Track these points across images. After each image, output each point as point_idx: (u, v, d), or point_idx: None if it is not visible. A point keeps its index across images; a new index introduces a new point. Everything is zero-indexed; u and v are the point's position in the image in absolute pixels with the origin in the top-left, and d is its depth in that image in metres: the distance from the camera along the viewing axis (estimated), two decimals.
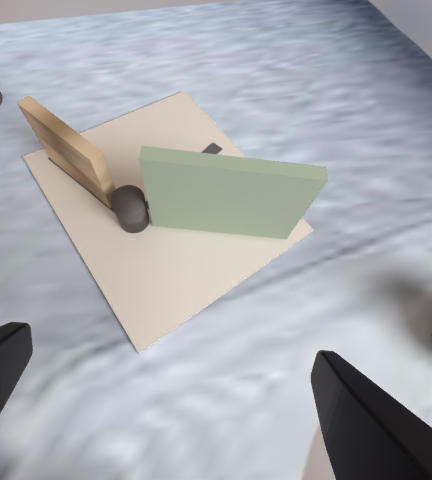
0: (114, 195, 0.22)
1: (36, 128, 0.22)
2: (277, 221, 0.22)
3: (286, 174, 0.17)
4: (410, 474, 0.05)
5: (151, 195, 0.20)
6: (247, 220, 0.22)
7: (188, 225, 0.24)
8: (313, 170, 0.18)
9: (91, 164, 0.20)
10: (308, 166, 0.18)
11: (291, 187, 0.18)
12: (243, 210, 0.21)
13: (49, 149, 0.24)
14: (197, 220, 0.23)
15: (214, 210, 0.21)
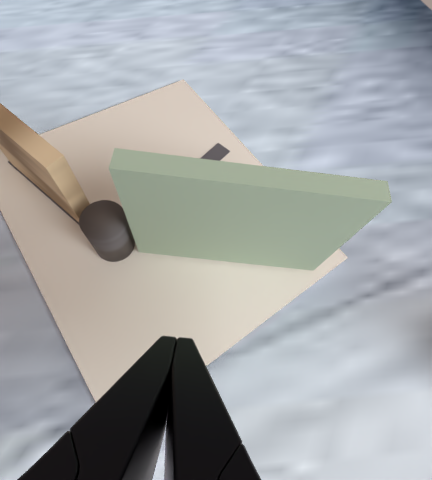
0: (84, 214, 0.16)
1: None
2: (305, 251, 0.16)
3: (330, 192, 0.12)
4: (171, 457, 0.05)
5: (133, 217, 0.14)
6: (264, 249, 0.17)
7: (184, 252, 0.18)
8: (369, 186, 0.12)
9: (48, 173, 0.14)
10: (362, 180, 0.12)
11: (334, 210, 0.13)
12: (260, 238, 0.15)
13: (4, 150, 0.18)
14: (197, 247, 0.17)
15: (220, 236, 0.16)
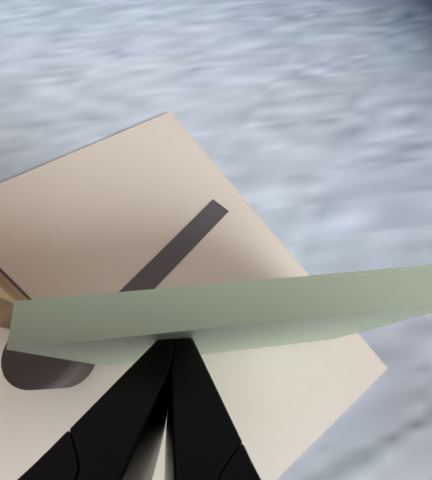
0: None
1: None
2: (330, 334, 0.12)
3: (387, 305, 0.07)
4: (171, 457, 0.05)
5: (80, 358, 0.09)
6: (276, 341, 0.12)
7: None
8: None
9: None
10: (426, 270, 0.08)
11: (386, 315, 0.08)
12: (270, 339, 0.11)
13: None
14: None
15: (215, 346, 0.11)
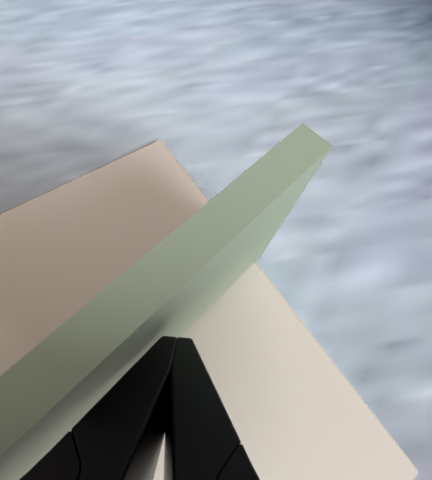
0: None
1: None
2: (252, 255, 0.12)
3: (269, 199, 0.07)
4: (170, 456, 0.05)
5: (22, 474, 0.07)
6: (213, 295, 0.11)
7: None
8: (295, 147, 0.07)
9: None
10: (280, 147, 0.07)
11: (276, 208, 0.08)
12: (205, 298, 0.10)
13: None
14: None
15: None
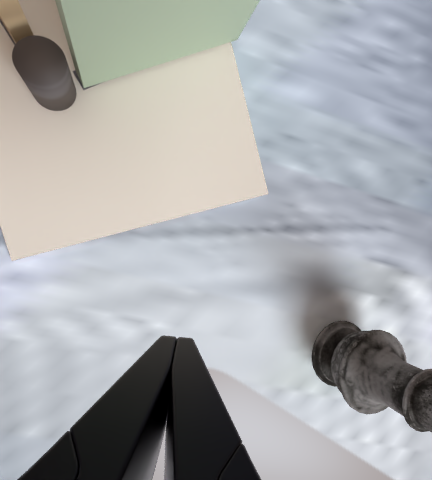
0: (20, 45, 0.14)
1: None
2: (232, 17, 0.18)
3: None
4: (171, 456, 0.05)
5: (79, 40, 0.14)
6: (199, 30, 0.18)
7: (128, 68, 0.18)
8: None
9: None
10: None
11: None
12: (195, 17, 0.16)
13: None
14: (140, 56, 0.17)
15: (161, 31, 0.16)
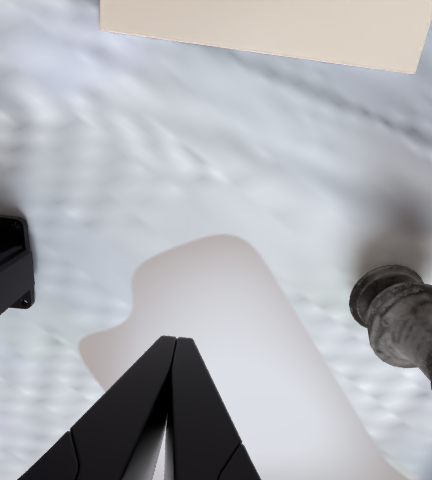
0: None
1: None
2: None
3: None
4: (171, 456, 0.05)
5: None
6: None
7: None
8: None
9: None
10: None
11: None
12: None
13: None
14: None
15: None
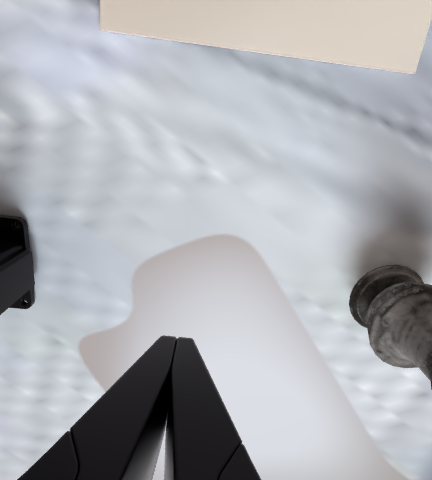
0: None
1: None
2: None
3: None
4: (171, 457, 0.05)
5: None
6: None
7: None
8: None
9: None
10: None
11: None
12: None
13: None
14: None
15: None
